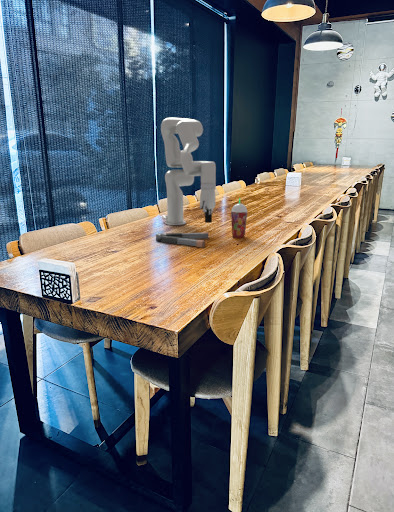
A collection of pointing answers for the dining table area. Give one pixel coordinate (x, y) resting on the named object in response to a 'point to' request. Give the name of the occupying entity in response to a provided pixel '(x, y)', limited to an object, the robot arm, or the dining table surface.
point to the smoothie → (238, 220)
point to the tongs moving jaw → (184, 235)
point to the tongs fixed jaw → (183, 241)
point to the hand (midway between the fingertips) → (208, 222)
